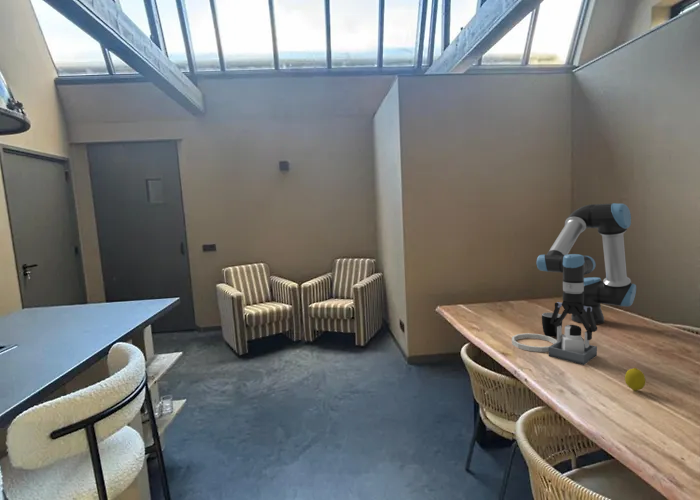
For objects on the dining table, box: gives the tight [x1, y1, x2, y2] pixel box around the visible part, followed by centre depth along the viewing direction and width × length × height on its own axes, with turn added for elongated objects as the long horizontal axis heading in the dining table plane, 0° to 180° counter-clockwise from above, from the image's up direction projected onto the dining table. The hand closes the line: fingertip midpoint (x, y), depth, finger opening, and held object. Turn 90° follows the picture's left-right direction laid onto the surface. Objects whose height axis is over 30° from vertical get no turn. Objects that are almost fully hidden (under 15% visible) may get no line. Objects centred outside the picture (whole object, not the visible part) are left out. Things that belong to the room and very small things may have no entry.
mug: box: [541, 312, 563, 338], centre depth 190 cm, size 12×9×10 cm
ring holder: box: [511, 332, 557, 353], centre depth 178 cm, size 19×19×2 cm
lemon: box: [624, 367, 646, 392], centre depth 130 cm, size 6×6×8 cm
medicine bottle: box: [562, 324, 585, 354], centre depth 162 cm, size 7×7×12 cm
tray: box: [548, 340, 598, 366], centre depth 162 cm, size 14×14×4 cm
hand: (572, 343), depth 162 cm, fingers open, 10 cm apart
